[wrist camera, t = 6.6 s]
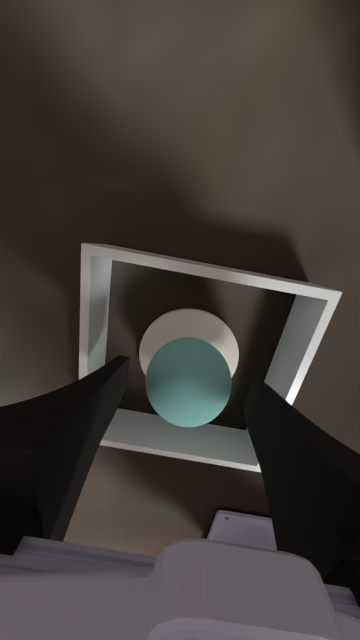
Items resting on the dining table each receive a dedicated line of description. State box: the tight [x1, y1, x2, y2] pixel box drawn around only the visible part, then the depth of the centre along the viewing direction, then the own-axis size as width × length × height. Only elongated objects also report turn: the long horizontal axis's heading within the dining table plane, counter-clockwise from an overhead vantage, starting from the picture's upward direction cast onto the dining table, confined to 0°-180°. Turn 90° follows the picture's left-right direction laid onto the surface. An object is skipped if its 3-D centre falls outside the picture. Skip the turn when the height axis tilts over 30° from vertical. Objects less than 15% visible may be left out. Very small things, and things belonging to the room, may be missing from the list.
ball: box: [145, 338, 232, 427], centre depth 12 cm, size 5×5×5 cm
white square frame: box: [79, 243, 342, 472], centre depth 14 cm, size 13×13×3 cm
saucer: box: [139, 308, 239, 378], centre depth 15 cm, size 7×7×1 cm
